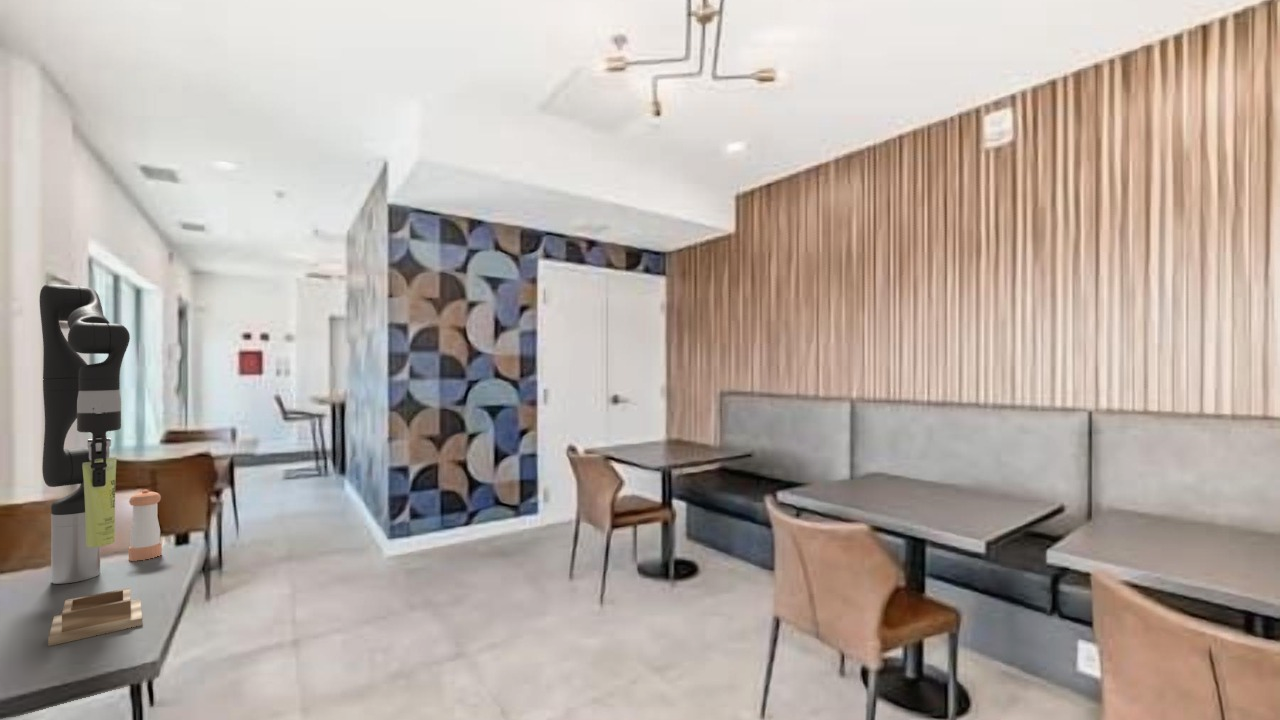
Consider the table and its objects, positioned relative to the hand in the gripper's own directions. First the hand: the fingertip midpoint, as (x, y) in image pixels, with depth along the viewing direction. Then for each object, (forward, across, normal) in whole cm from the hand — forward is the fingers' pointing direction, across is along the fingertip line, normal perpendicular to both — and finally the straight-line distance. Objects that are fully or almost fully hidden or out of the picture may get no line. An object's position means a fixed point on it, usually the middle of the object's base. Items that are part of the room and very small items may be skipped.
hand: (99, 484), depth 138 cm
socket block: (+27, +15, 0) cm, 31 cm away
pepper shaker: (+28, -37, +9) cm, 47 cm away
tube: (+14, 0, 0) cm, 14 cm away
